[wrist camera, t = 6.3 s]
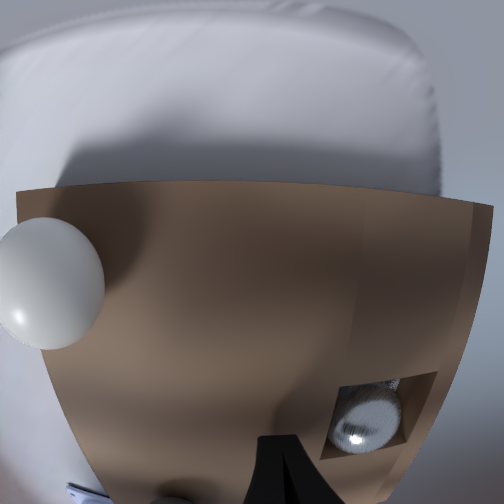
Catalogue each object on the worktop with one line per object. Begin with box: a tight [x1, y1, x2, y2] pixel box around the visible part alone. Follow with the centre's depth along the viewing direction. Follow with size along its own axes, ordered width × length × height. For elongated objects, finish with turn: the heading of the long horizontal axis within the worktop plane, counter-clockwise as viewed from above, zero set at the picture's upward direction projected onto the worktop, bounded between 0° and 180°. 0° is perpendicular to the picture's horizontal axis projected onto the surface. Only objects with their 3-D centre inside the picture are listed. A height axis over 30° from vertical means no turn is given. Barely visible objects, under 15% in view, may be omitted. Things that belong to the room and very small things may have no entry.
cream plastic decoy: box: [0, 217, 105, 350], centre depth 6 cm, size 4×4×4 cm
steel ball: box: [327, 382, 401, 454], centre depth 11 cm, size 4×4×4 cm
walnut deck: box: [16, 180, 493, 504], centre depth 11 cm, size 18×17×2 cm
